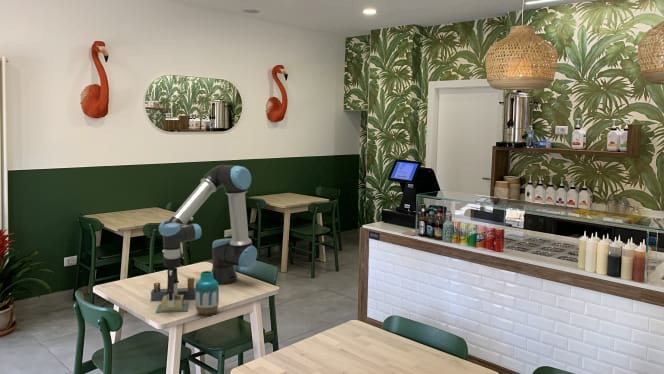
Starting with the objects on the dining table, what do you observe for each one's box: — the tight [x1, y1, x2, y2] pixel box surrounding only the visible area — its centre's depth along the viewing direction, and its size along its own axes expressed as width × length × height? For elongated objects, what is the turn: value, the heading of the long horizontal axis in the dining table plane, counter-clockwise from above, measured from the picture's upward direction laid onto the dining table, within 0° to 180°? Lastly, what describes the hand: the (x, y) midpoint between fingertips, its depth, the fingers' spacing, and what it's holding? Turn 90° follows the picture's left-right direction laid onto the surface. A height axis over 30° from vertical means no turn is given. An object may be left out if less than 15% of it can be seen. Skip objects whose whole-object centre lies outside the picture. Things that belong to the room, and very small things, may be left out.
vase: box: [194, 270, 220, 315], centre depth 241 cm, size 11×11×19 cm
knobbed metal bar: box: [150, 277, 195, 302], centre depth 260 cm, size 21×5×10 cm, turn 100°
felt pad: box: [155, 302, 190, 314], centre depth 247 cm, size 14×10×1 cm
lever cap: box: [160, 295, 185, 311], centre depth 247 cm, size 9×8×5 cm
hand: (172, 301), depth 247 cm, fingers open, 13 cm apart
